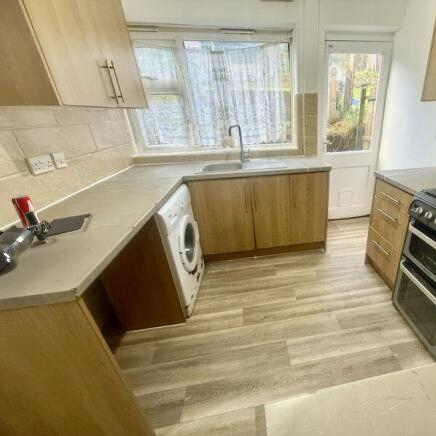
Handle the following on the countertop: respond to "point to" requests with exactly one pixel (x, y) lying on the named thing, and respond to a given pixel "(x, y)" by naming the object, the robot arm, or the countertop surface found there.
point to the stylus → (34, 221)
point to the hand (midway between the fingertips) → (30, 225)
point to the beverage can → (23, 208)
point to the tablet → (67, 224)
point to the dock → (38, 243)
